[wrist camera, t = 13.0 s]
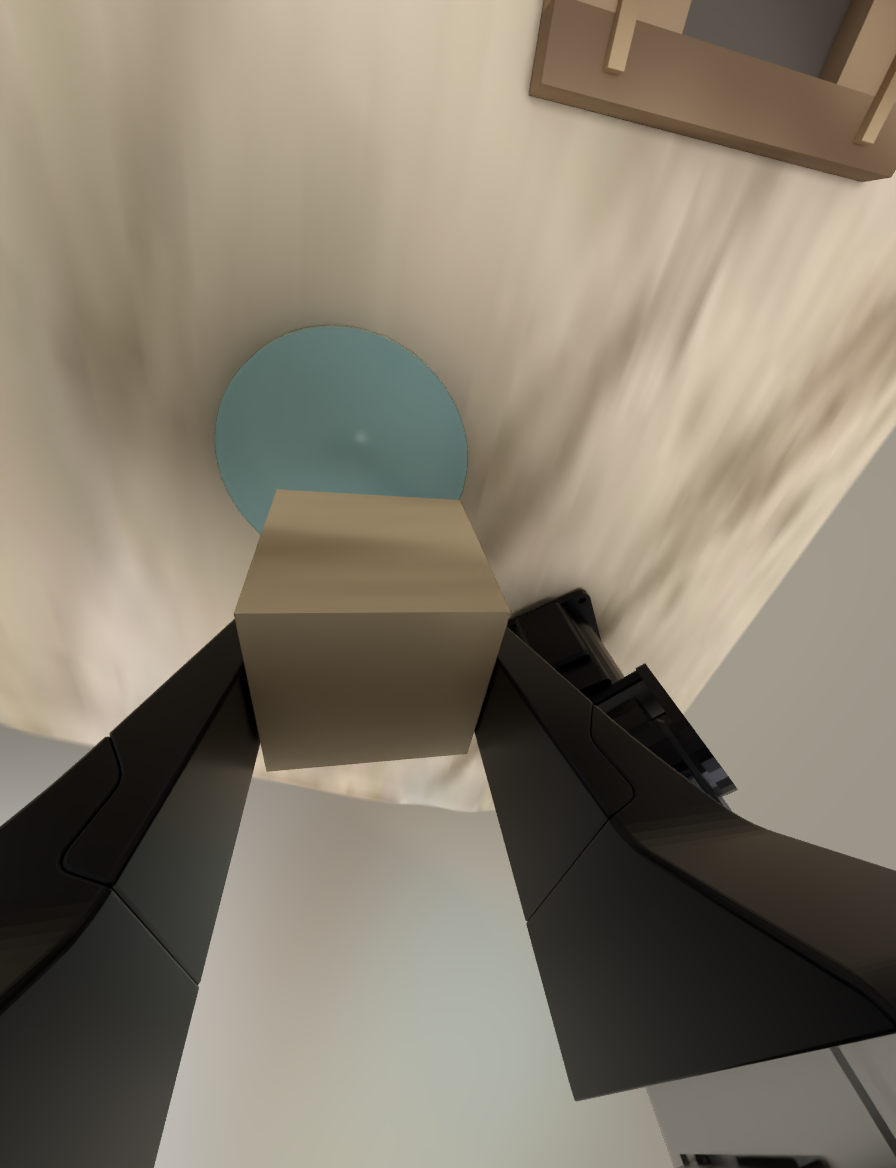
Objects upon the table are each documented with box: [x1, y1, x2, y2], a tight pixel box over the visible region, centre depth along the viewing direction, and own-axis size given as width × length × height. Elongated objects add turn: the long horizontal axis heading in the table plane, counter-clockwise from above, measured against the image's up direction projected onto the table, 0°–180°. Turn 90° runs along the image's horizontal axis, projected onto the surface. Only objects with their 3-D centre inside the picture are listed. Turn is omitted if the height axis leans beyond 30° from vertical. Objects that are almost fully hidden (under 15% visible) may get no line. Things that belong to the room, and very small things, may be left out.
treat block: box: [234, 489, 511, 771], centre depth 9 cm, size 4×4×4 cm
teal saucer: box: [215, 325, 468, 534], centre depth 17 cm, size 10×10×1 cm
